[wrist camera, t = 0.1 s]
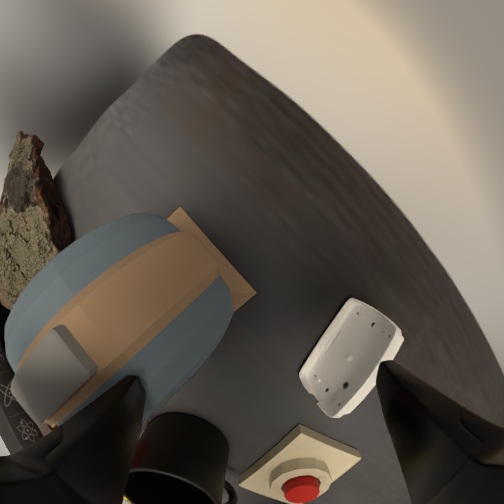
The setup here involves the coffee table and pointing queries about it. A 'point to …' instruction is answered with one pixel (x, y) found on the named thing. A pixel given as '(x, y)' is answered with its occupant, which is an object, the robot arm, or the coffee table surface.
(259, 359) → the coffee table surface
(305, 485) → the button
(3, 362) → the book
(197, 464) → the mug
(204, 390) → the coffee table surface
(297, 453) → the button block
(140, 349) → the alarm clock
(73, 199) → the coffee table surface
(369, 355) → the soap
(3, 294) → the rock
